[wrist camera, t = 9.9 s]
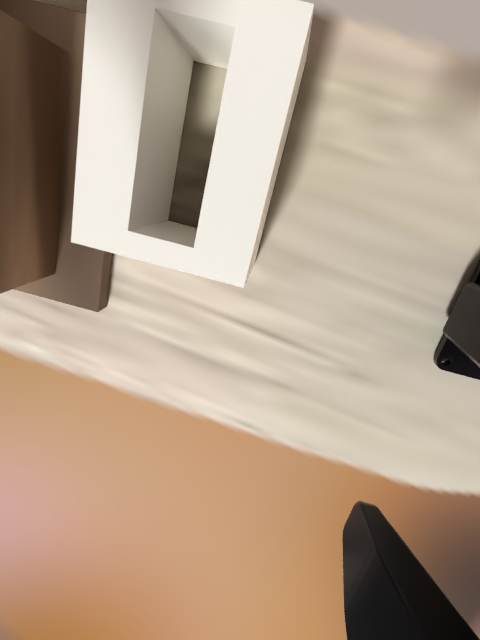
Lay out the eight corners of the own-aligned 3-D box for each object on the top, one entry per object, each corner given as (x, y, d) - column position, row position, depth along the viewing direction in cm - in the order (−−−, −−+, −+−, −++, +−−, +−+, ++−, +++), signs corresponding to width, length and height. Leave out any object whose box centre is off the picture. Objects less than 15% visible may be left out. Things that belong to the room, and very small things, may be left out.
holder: (306, 60, 15) (314, 3, 11) (254, 263, 19) (243, 287, 14) (149, 22, 16) (90, -50, 11) (124, 229, 19) (70, 241, 14)
